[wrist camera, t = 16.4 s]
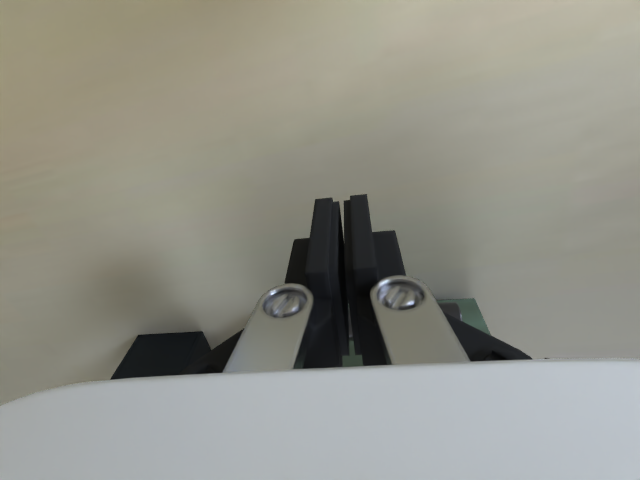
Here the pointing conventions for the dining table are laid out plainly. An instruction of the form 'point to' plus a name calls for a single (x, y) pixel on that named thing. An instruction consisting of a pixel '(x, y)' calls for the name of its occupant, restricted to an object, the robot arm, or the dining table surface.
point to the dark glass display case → (161, 354)
